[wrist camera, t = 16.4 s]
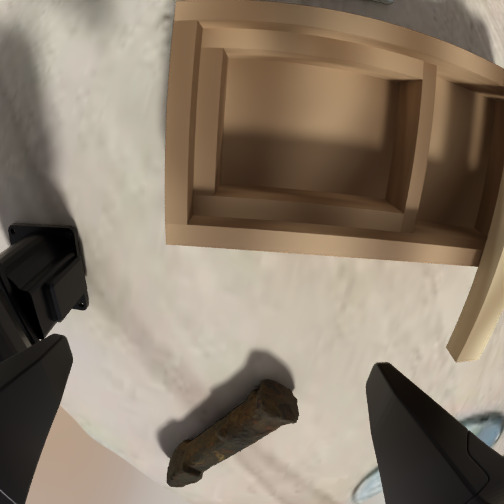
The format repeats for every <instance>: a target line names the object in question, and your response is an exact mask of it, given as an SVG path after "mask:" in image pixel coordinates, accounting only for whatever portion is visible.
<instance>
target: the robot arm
mask: <svg viewBox="0 0 504 504" xmlns="http://www.w3.org/2000/svg"><path fill="white" fill-rule="evenodd" d="M13 229H14V230H15V232H14V230H13ZM8 232H9V237H10V242H11V246H10V247H9V248H7V249H6V250H4V251H3V252H2V253H0V504H25V502H26V498H27V495H28V492H29V488H30V485H31V482H32V479H33V475H34V473H35V469H36V467H37V464H38V461H39V458H40V455H41V452H42V449H43V447H44V444H45V441H46V438H47V436H48V433H49V431H50V428H51V425H52V423H53V420H54V418H55V415H56V413H57V410H58V408H59V405H60V402H61V399H62V396H63V392H64V389H65V386H66V382H67V379H68V376H69V373H70V370H71V367H72V363H73V356H72V353H71V350H70V346H69V343H68V340H67V338H66V337H65V336H63V335H59V334H52V335H50V336H48V337H46V335H47V334H48V333H49V332H50V330H51V329H52V328H53V326H54V325H55V324H56V323H57V322H62V320H63V319H64V318H65V317H66V315H67V314H68V313H69V312H70V310H71V309H77V310H86V309H87V307H88V306H89V301H88V296H87V291H86V290H87V285H86V280H85V274H84V268H83V262H82V259H81V257H80V250H79V243H78V235H77V231H76V229H75V228H74V227H72V226H61V225H40V224H18V223H14V224H12V225H10V226H9V228H8ZM68 232H70V233H71V235H72V236H70V235H69V233H68ZM81 302H82V303H83V304H84V305H83V304H82V303H81ZM45 337H46V338H45ZM44 338H45V339H44ZM39 339H41V341H40V340H39ZM366 395H367V403H368V411H369V420H370V429H371V435H372V440H373V445H374V449H375V454H376V458H377V463H378V468H379V472H380V477H381V482H382V487H383V493H384V498H385V503H386V504H504V457H503V456H501V455H500V454H499V453H497V452H496V451H494V450H493V449H492V448H490V447H489V446H488V445H486V444H485V443H484V442H483V441H481V440H480V439H479V438H478V437H477V436H475V435H474V434H473V433H472V432H471V431H468V429H467V428H466V427H465V426H463V425H462V424H461V423H460V422H459V421H458V420H456V419H455V418H454V417H453V416H452V415H450V414H449V413H448V412H447V411H446V410H445V409H443V408H442V407H441V406H440V405H439V404H437V403H436V402H435V401H434V400H433V399H432V398H430V397H429V396H428V395H427V394H426V393H424V392H423V391H422V390H421V389H420V388H419V387H417V386H416V385H415V384H414V383H413V382H411V381H410V380H409V379H408V378H407V377H406V376H404V375H403V374H402V373H401V372H400V371H398V370H397V369H396V368H395V367H394V366H392V365H391V364H390V363H388V362H379V363H375V364H374V366H373V368H372V370H371V373H370V375H369V378H368V380H367V383H366Z"/></svg>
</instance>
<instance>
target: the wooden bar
mask: <svg viewBox="0 0 504 504" xmlns="http://www.w3.org/2000/svg"><path fill="white" fill-rule="evenodd" d="M503 309H504V167H503V173H502V178H501V183H500V188H499V193H498V198H497V202H496V207H495V211H494V215H493V219H492V223H491V226H490V230H489V234H488V237H487V241H486V244H485V248H484V251H483V254H482V257H481V260H480V264H479V267H478V270H477V272H476V275H475V278H474V281H473V284H472V287H471V289H470V292H469V295H468V297H467V300H466V302H465V305H464V307H463V310H462V312H461V315H460V317H459V319H458V322H457V324H456V326H455V329H454V331H453V333H452V335H451V338H450V340H449V342H448V344H447V346H446V348H447V349H448V351H449V353H450V354H451V356H452V357H453V359H454V360H455V362H464V361H472V360H479V358H480V356H481V354H482V352H483V350H484V348H485V346H486V345H487V343H488V341H489V339H490V337H491V335H492V332H493V330H494V328H495V326H496V324H497V322H498V320H499V318H500V315H501V313H502V311H503Z"/></svg>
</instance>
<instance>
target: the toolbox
mask: <svg viewBox="0 0 504 504" xmlns="http://www.w3.org/2000/svg"><path fill="white" fill-rule="evenodd" d="M503 167H504V69H503V68H501V67H500V66H498V65H496V64H494V63H492V62H490V61H488V60H486V59H484V58H481V57H479V56H477V55H475V54H473V53H471V52H468V51H466V50H464V49H462V48H459V47H457V46H454V45H452V44H449V43H447V42H444V41H442V40H439V39H437V38H434V37H431V36H428V35H426V34H423V33H420V32H417V31H414V30H411V29H408V28H404V27H401V26H398V25H395V24H391V23H388V22H384V21H380V20H376V19H372V18H368V17H364V16H360V15H356V14H351V13H346V12H341V11H336V10H331V9H325V8H319V7H312V6H306V5H298V4H290V3H280V2H269V1H254V0H185V1H176V7H175V15H174V24H173V33H172V43H171V54H170V66H169V80H168V96H167V115H166V144H165V228H166V244H169V245H183V246H198V247H212V248H226V249H240V250H254V251H269V252H283V253H297V254H311V255H325V256H338V257H352V258H366V259H380V260H394V261H408V262H421V263H435V264H449V265H462V266H476V267H479V264H480V260H481V257H482V254H483V251H484V248H485V244H486V241H487V237H488V234H489V230H490V226H491V223H492V219H493V215H494V211H495V207H496V202H497V198H498V193H499V188H500V183H501V178H502V173H503Z"/></svg>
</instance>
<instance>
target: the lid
mask: <svg viewBox="0 0 504 504" xmlns="http://www.w3.org/2000/svg"><path fill="white" fill-rule="evenodd" d="M373 1H377V2H381V3H385V4H388V5H389V4H391V3H392V2H393V0H373Z"/></svg>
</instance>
